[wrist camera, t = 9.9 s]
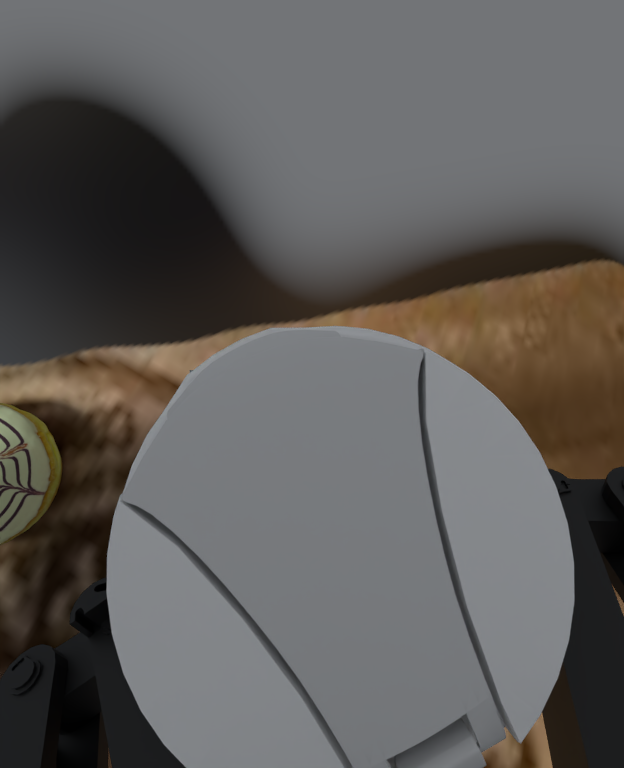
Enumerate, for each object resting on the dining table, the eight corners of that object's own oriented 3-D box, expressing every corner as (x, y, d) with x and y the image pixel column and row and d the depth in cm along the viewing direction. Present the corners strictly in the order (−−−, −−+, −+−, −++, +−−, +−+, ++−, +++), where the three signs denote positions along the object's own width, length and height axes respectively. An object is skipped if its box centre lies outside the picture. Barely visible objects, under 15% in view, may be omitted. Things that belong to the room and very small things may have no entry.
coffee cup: (420, 513, 20) (721, 695, 6) (281, 586, 20) (200, 1013, 5) (349, 374, 22) (441, 218, 7) (215, 439, 21) (-11, 425, 6)
